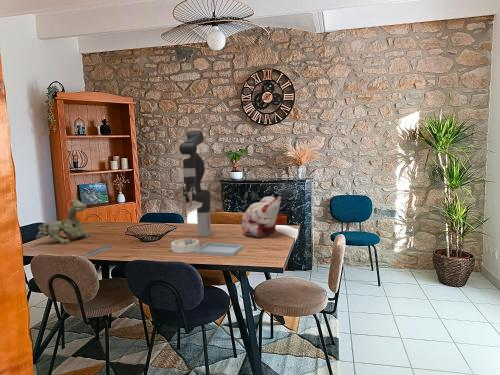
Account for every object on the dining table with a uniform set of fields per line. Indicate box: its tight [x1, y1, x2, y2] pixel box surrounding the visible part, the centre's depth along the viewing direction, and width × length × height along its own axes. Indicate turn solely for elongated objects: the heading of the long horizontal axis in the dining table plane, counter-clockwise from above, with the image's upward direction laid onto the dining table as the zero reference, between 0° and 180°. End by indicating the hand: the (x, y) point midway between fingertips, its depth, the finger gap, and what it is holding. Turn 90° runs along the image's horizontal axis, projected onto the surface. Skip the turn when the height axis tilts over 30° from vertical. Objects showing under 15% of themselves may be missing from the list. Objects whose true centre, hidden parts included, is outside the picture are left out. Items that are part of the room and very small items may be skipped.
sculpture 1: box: [35, 198, 91, 245], centre depth 257 cm, size 29×27×30 cm
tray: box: [194, 242, 244, 257], centre depth 223 cm, size 18×24×3 cm
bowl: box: [170, 238, 201, 254], centre depth 227 cm, size 16×16×5 cm
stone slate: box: [185, 238, 192, 245], centre depth 229 cm, size 4×4×5 cm
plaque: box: [81, 245, 116, 259], centre depth 227 cm, size 33×10×1 cm, turn 163°
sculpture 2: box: [241, 195, 282, 238], centre depth 262 cm, size 31×29×30 cm
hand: (190, 201), depth 227 cm, fingers open, 8 cm apart
